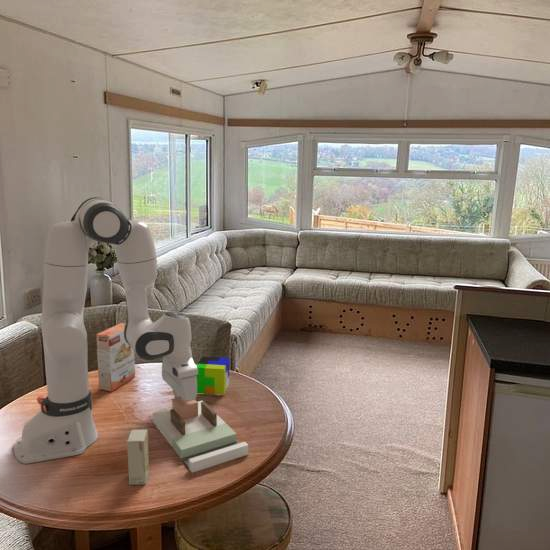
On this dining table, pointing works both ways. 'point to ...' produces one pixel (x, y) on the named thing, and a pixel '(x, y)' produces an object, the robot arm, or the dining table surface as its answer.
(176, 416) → the channel walls
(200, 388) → the puzzle toy
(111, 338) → the cracker box
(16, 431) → the dining table surface
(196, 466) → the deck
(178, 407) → the block
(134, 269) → the robot arm
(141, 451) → the skincare box
